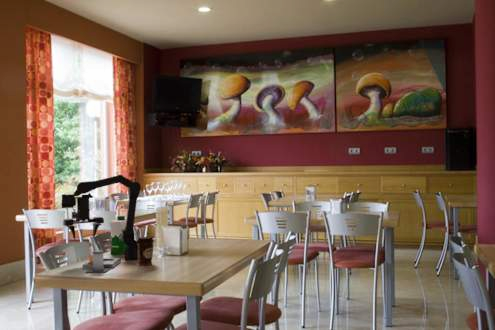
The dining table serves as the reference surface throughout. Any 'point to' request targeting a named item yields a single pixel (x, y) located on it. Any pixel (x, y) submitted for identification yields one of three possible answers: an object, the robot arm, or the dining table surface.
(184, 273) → the dining table surface
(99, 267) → the cartridge
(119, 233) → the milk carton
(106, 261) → the housing
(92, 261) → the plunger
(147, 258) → the coffee cup
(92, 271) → the mat
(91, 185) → the robot arm
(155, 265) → the dining table surface
